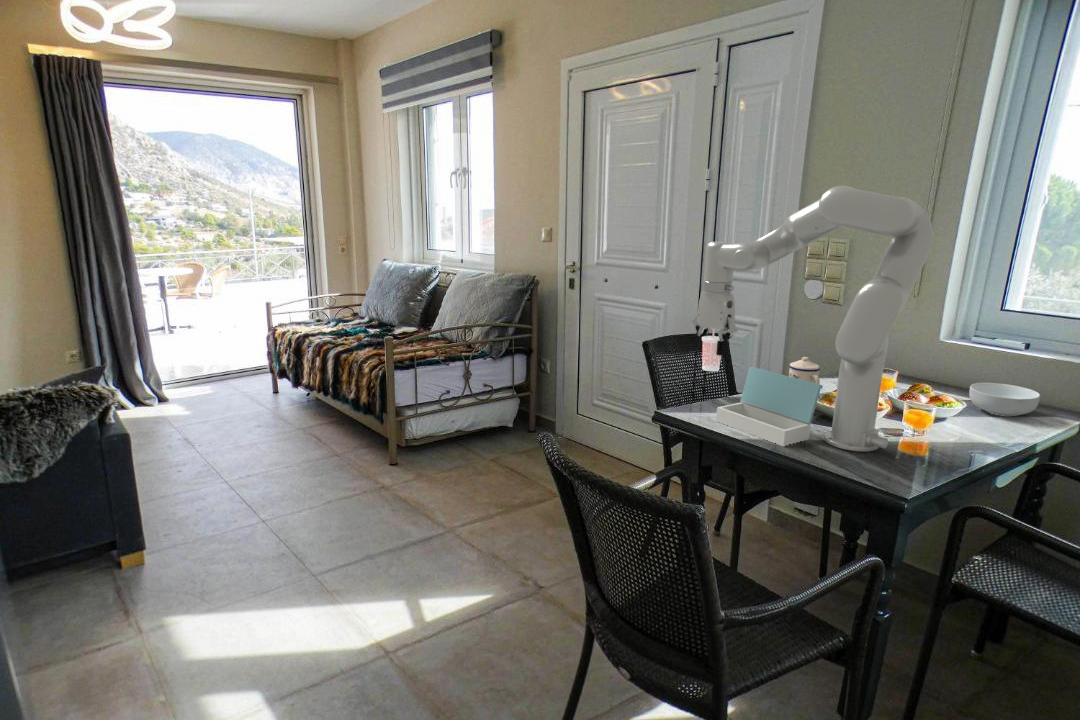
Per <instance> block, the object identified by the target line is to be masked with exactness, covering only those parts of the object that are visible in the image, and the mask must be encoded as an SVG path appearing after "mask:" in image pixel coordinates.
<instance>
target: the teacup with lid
mask: <svg viewBox="0 0 1080 720" xmlns="http://www.w3.org/2000/svg"><path fill="white" fill-rule="evenodd" d="M788 367H789V371H788V376H789V377H793V378H797V379H800V380H804V381H808V382H812V383H815V384H819V385H821V384H820V383H821V381H820V377H819V373H820V370H821V368H820V365H819V364H817V363H814V362H813V361H811V360H810V359H809V357H808V356H807V357H806V356H803V357H802V358H801V359H799V360H797V361H793V362H791V363H789V365H788Z"/></svg>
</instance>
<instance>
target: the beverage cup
mask: <svg viewBox="0 0 1080 720" xmlns="http://www.w3.org/2000/svg"><path fill="white" fill-rule="evenodd" d="M715 331H716V330H713V329H712V335H708V336H703V337H702V341H703V350H702V356H701V357H702V358H701V359H702V360H701V361H702V363H701V365H702V366H701V369H702V371H706V372H719V371H720V365H721V361H722V355H717V354H716V353H717V342H718V341H720V340H719V335H718V336H716V335H715Z"/></svg>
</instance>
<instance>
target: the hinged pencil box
mask: <svg viewBox="0 0 1080 720" xmlns="http://www.w3.org/2000/svg"><path fill="white" fill-rule="evenodd" d="M716 421H717V423H719V422H720V423H719V424H722V425H724V424H725V426H727V425H728V426H727V427H730V428H732V427H733V428H732V429H735V430H738V431H741V432H743V433H747V434H749V435H750V436H751V435H752V436H754V437H756V436H757V438H759V437H760V439H762V440H764V439H765V441H767V440H768V442H769V443H772V442H773V444H775V443H776V444H775V445H778V446H780V447H783V446H784V447H787V446H790V445H789V444H791V445H794V444H798V443H801V442H800V441H802V442H805V441H808V439H809V440H810V435H811V434H810V433H811V424H812V423H811V424H810V425H809V424H806V423H803V422H800V421H797V420H794V419H791V418H788V417H785V416H782V415H779V414H776V413H773V412H769V411H766V410H763V409H760V408H757V407H754V406H751V405H748V404H745V403H742V402H736V403H731V404H727V405H722V406H717V408H716V419H715V422H716ZM804 440H805V441H804ZM797 442H798V443H797ZM793 443H794V444H793ZM786 445H787V446H786Z"/></svg>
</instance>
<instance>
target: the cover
mask: <svg viewBox="0 0 1080 720" xmlns="http://www.w3.org/2000/svg"><path fill="white" fill-rule="evenodd" d="M823 386H824V385H822V384H815V383H812V382H808V381H804V380H800V379H797V378H793V377H789V375H784V374H781V373H777V372H773V371H770V370H766V369H762V368H759V367H755V366H750V365H749V368H748V372H747V376H746V379H745V382H744V386H743V389H742V394H741V398H740V402H742V403H745V404H748V405H751V406H754V407H757V408H760V409H763V410H766V411H769V412H773V413H776V414H779V415H782V416H785V417H788V418H791V419H794V420H797V421H800V422H803V423H806V424H809V425H810V424H812V420H813V416H814V413H815V410H816V406H817V402H818V399H819V396H820V393H821V390H822V389H823ZM740 402H739V403H740Z"/></svg>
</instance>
